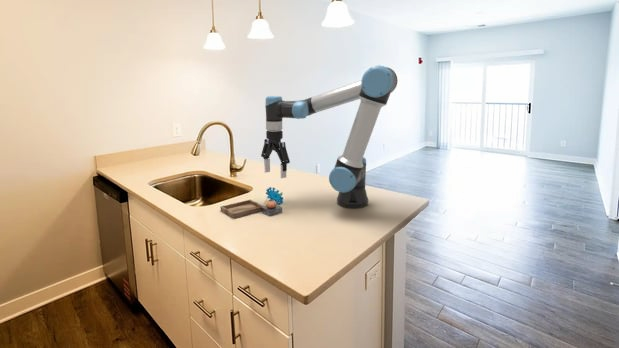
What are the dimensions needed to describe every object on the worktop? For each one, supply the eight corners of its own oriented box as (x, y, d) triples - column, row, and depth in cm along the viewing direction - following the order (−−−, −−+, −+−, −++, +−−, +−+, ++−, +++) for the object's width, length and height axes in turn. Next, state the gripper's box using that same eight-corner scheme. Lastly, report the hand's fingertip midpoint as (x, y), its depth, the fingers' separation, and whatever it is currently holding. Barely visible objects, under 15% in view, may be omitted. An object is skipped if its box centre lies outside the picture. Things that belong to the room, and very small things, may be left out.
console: (282, 212, 157) (282, 207, 156) (269, 216, 152) (269, 210, 152) (273, 208, 162) (273, 203, 161) (260, 212, 158) (260, 206, 157)
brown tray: (264, 210, 159) (264, 206, 159) (233, 219, 150) (233, 214, 149) (250, 203, 169) (250, 199, 168) (220, 211, 159) (220, 206, 158)
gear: (274, 204, 162) (263, 187, 166) (266, 211, 165) (257, 194, 168) (289, 201, 171) (279, 185, 174) (282, 208, 174) (272, 191, 177)
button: (278, 208, 156) (278, 202, 156) (269, 210, 154) (269, 204, 153) (272, 205, 160) (272, 200, 159) (264, 208, 157) (264, 202, 156)
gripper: (297, 132, 154) (297, 178, 159) (266, 127, 172) (267, 168, 178) (283, 134, 149) (284, 181, 154) (253, 128, 168) (254, 171, 173)
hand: (275, 174), depth 166 cm, fingers open, 13 cm apart
